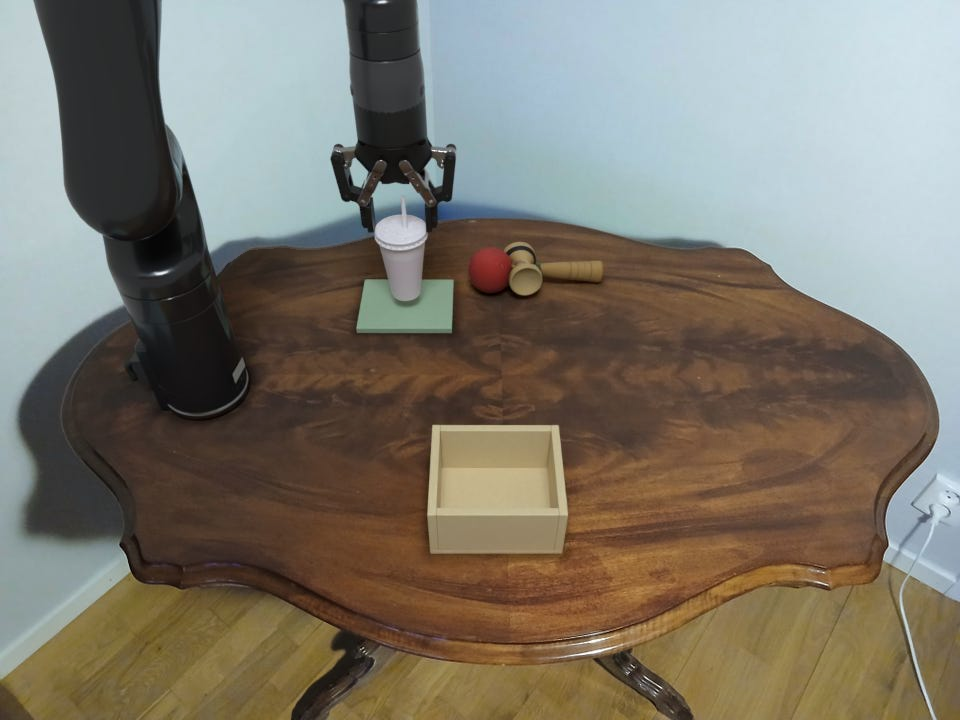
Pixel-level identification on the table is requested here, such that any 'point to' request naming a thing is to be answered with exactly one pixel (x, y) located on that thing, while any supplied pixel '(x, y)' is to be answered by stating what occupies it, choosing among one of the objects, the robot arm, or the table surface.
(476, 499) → the bin
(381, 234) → the smoothie
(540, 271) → the kendama
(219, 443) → the table surface
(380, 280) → the mat
